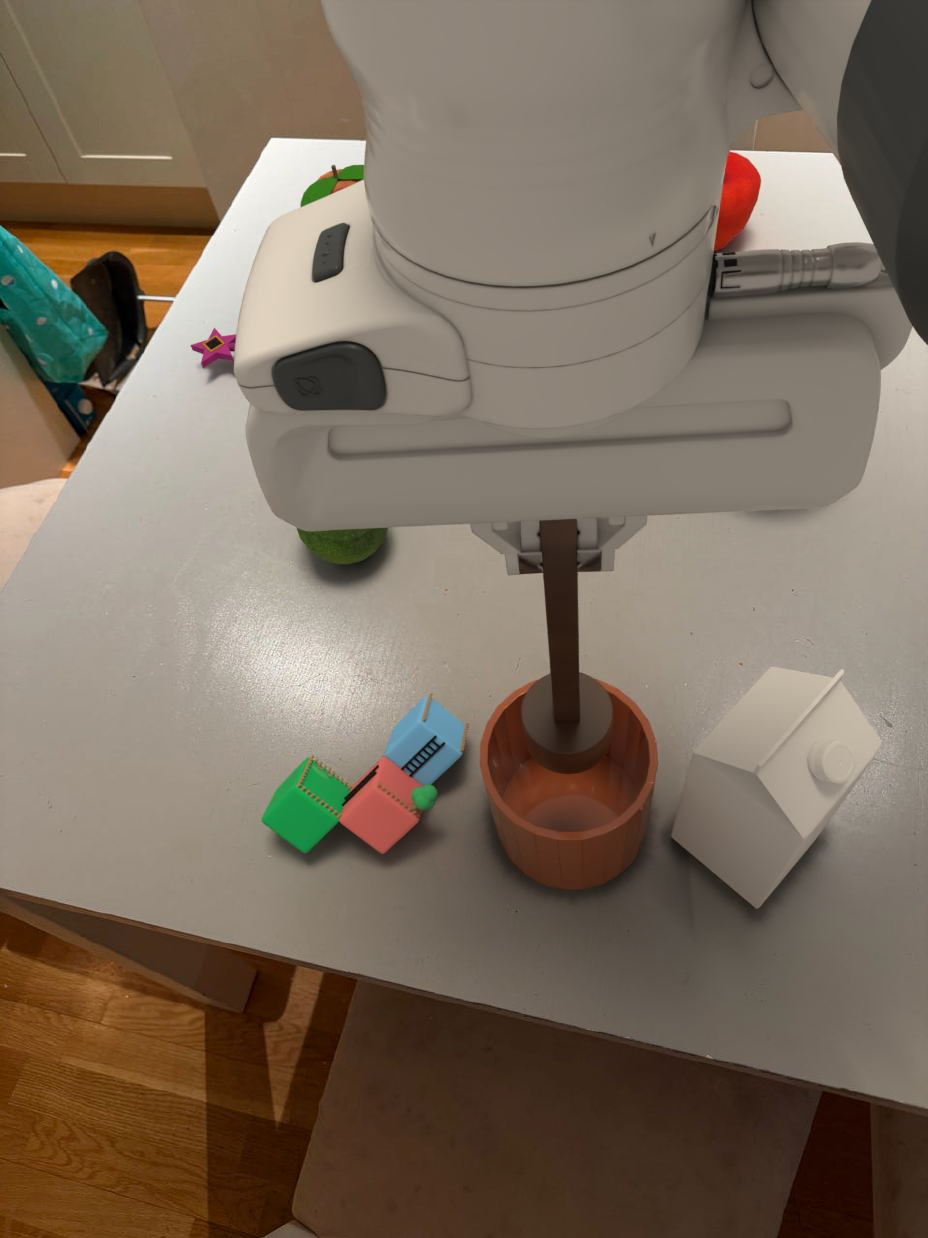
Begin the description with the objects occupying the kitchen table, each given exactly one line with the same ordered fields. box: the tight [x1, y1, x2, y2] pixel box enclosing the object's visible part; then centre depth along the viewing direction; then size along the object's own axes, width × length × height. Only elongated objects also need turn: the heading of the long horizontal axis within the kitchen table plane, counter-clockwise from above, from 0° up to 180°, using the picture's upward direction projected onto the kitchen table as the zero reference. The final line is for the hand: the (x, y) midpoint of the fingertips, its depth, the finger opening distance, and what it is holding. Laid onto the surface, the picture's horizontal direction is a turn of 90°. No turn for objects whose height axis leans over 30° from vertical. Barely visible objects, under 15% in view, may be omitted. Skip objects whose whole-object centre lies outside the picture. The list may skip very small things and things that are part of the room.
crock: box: [479, 678, 659, 891], centre depth 58 cm, size 11×11×11 cm
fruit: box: [299, 164, 364, 208], centre depth 95 cm, size 9×10×10 cm
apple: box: [714, 150, 762, 252], centre depth 89 cm, size 9×9×8 cm
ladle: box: [521, 519, 613, 774], centre depth 41 cm, size 5×5×23 cm
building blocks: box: [260, 692, 470, 855], centre depth 62 cm, size 8×8×12 cm
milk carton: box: [670, 666, 883, 910], centre depth 52 cm, size 7×7×19 cm
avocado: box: [295, 527, 389, 565], centre depth 72 cm, size 8×8×12 cm
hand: (559, 559), depth 36 cm, fingers closed on ladle
